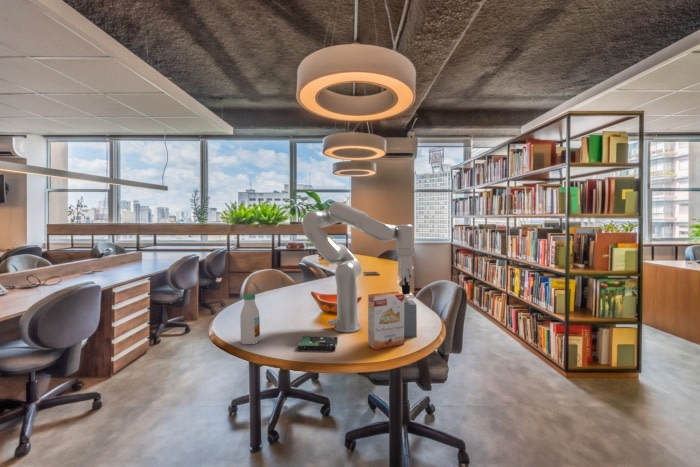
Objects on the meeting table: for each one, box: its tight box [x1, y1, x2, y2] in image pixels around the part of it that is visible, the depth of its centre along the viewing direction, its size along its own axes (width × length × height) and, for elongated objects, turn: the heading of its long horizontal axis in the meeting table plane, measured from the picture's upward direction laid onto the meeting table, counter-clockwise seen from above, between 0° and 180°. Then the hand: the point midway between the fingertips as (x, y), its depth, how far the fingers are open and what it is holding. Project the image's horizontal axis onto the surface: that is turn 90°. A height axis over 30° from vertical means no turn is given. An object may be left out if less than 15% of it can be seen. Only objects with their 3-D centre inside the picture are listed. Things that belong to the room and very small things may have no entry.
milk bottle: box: [239, 293, 261, 345], centre depth 132 cm, size 8×8×20 cm
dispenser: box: [404, 299, 418, 338], centre depth 140 cm, size 8×8×14 cm
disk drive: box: [297, 335, 339, 352], centre depth 127 cm, size 10×3×15 cm
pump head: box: [399, 291, 415, 303], centre depth 138 cm, size 6×9×12 cm, turn 0°
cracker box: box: [367, 291, 405, 350], centre depth 127 cm, size 14×6×21 cm, turn 114°
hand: (405, 293), depth 140 cm, fingers closed
